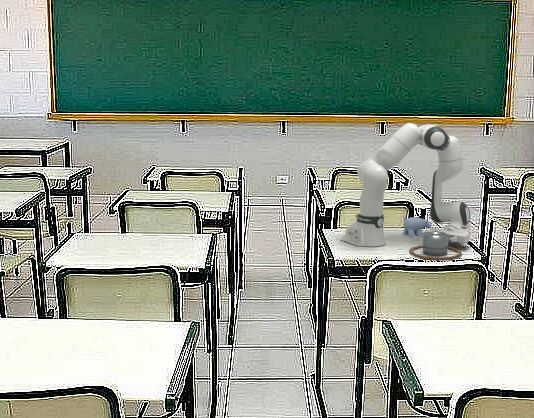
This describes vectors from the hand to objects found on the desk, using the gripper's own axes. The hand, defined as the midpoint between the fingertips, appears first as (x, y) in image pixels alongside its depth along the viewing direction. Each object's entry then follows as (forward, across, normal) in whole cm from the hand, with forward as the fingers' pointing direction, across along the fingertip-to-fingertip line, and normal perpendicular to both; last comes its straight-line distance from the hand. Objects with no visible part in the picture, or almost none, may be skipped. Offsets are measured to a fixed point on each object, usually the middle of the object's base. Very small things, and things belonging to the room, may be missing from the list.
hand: (440, 239), depth 348 cm
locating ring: (+6, 0, +6) cm, 8 cm away
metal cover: (+6, 0, +6) cm, 8 cm away
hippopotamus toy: (-24, -22, +6) cm, 33 cm away
